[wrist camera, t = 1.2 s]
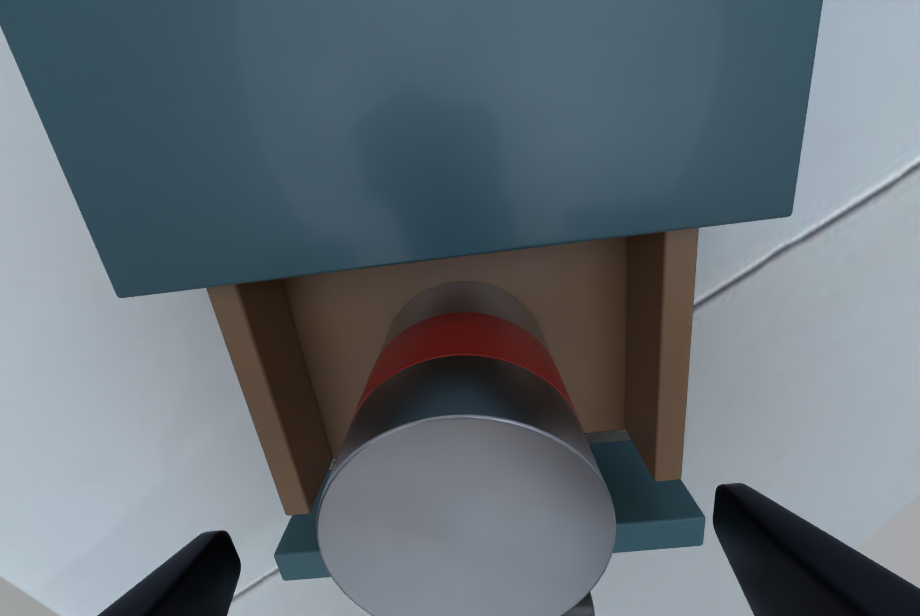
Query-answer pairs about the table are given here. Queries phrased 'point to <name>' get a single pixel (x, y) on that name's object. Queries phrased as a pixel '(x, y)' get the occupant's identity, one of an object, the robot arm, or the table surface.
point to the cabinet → (408, 125)
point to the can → (465, 471)
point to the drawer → (566, 335)
